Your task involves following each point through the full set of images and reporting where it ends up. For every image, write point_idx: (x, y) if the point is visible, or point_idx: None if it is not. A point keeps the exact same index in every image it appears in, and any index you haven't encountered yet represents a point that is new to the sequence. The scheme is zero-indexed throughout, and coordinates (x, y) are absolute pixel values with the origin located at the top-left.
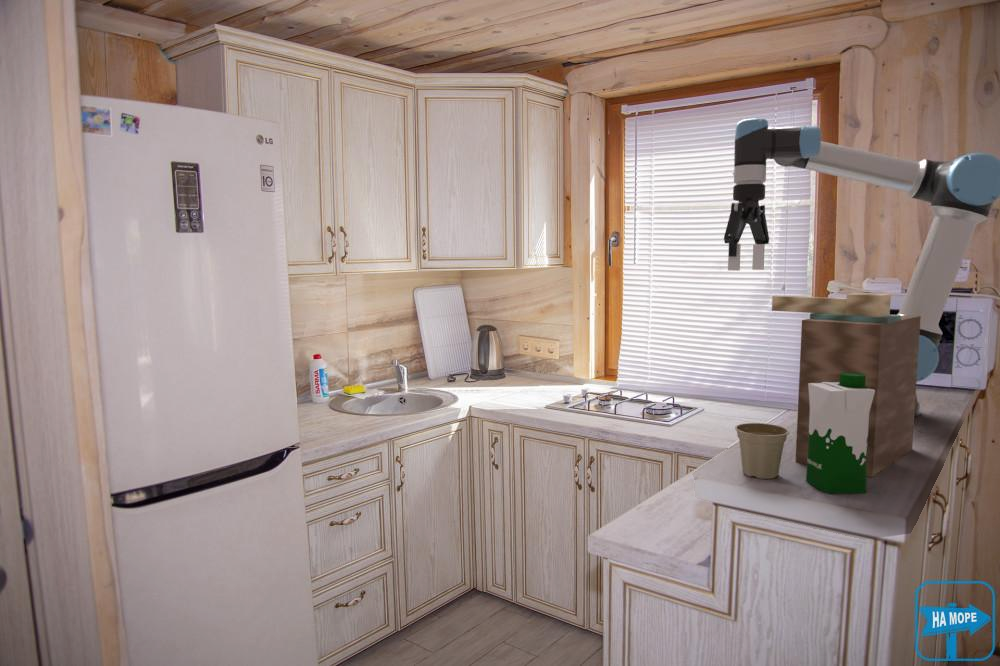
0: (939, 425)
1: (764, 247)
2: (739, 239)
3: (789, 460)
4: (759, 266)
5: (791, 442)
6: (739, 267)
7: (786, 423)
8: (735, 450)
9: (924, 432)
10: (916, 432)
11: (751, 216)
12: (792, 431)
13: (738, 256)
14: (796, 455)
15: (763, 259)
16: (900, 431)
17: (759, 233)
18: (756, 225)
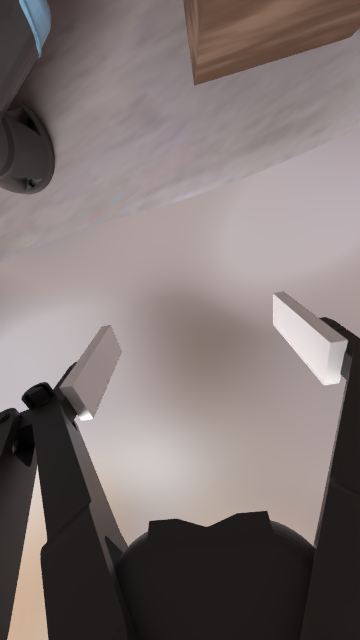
0: None
1: (68, 376)
2: (355, 358)
3: (347, 49)
4: (111, 338)
5: (262, 115)
6: (280, 296)
7: (182, 187)
8: (340, 133)
9: (68, 15)
10: (79, 25)
11: (240, 597)
12: (212, 154)
13: (309, 312)
14: (357, 29)
15: (94, 344)
16: None
17: (75, 441)
18: (95, 498)
